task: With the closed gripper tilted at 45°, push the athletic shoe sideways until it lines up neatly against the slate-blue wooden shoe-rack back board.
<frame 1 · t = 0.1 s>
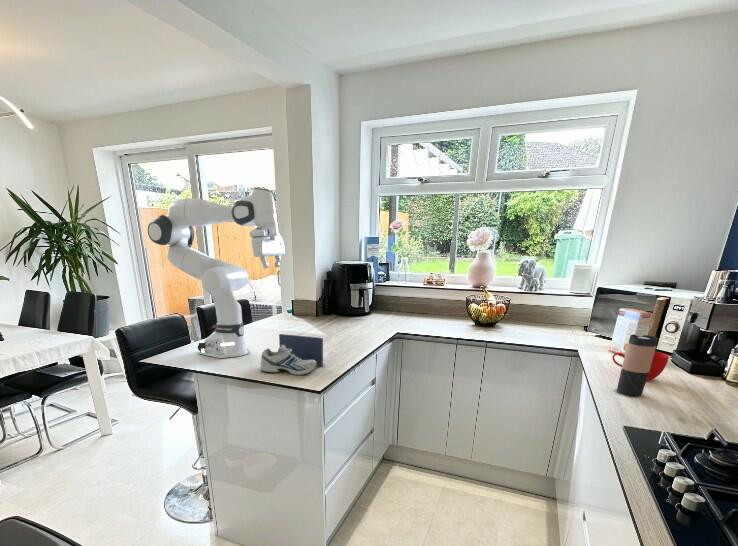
hand: (272, 267, 164), 39 cm above the worktop, tool pointing down, fingers open, 8 cm apart
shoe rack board: (301, 363, 169), on the worktop
athletic shoe: (288, 372, 159), on the worktop
ceramic cup: (634, 378, 154), on the worktop
cracker box: (624, 355, 186), on the worktop
travel mug: (628, 393, 138), on the worktop
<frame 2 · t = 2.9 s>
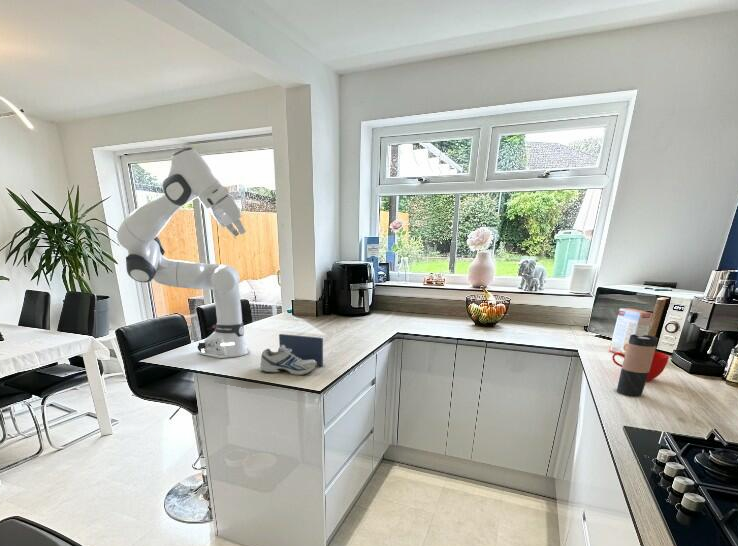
hand: (240, 234, 139), 51 cm above the worktop, tool tilted 35°, fingers open, 8 cm apart
nothing on the worktop moved.
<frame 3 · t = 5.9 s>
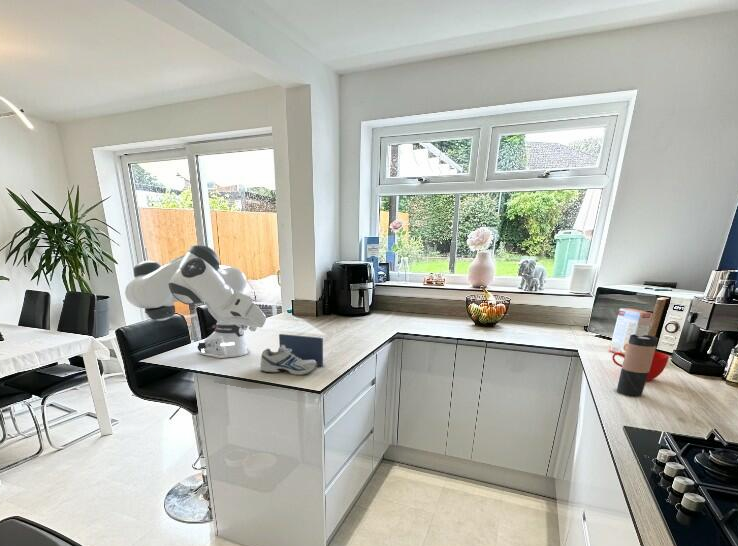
hand: (249, 328, 133), 21 cm above the worktop, tool tilted 45°, fingers open, 3 cm apart
nothing on the worktop moved.
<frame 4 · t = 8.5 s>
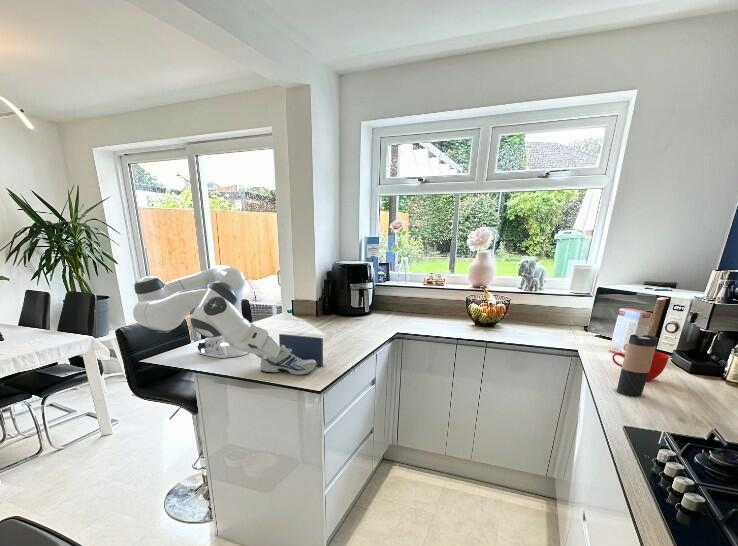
hand: (264, 356, 142), 10 cm above the worktop, tool tilted 45°, fingers closed
nothing on the worktop moved.
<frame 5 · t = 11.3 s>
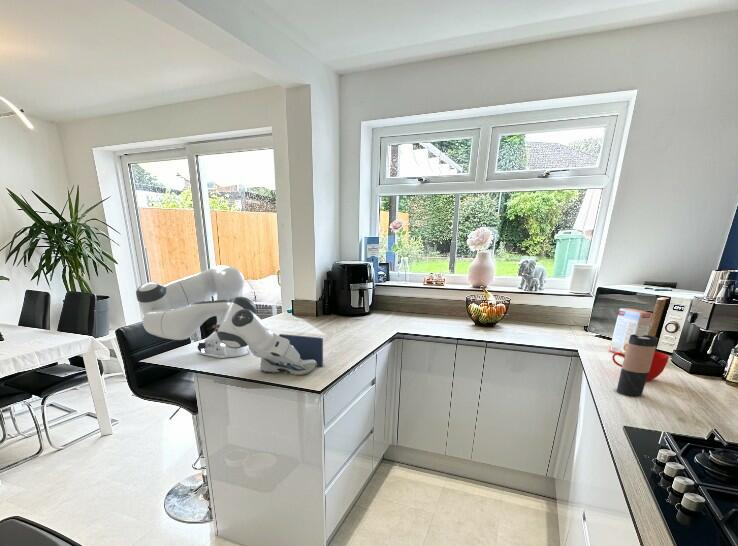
hand: (283, 363, 153), 5 cm above the worktop, tool tilted 45°, fingers closed
athletic shoe: (288, 372, 159), on the worktop, touching gripper
everything else where it was.
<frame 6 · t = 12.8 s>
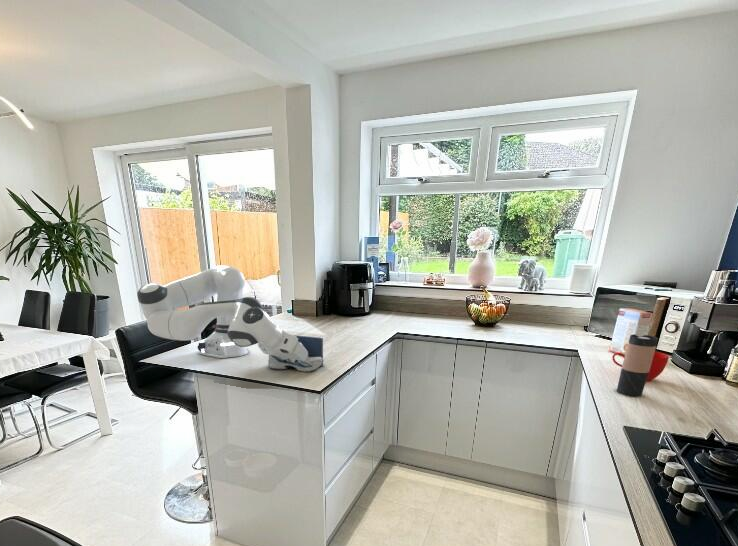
hand: (291, 360, 157), 5 cm above the worktop, tool tilted 45°, fingers closed
athletic shoe: (295, 368, 163), on the worktop, touching gripper, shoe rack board
everything else where it was.
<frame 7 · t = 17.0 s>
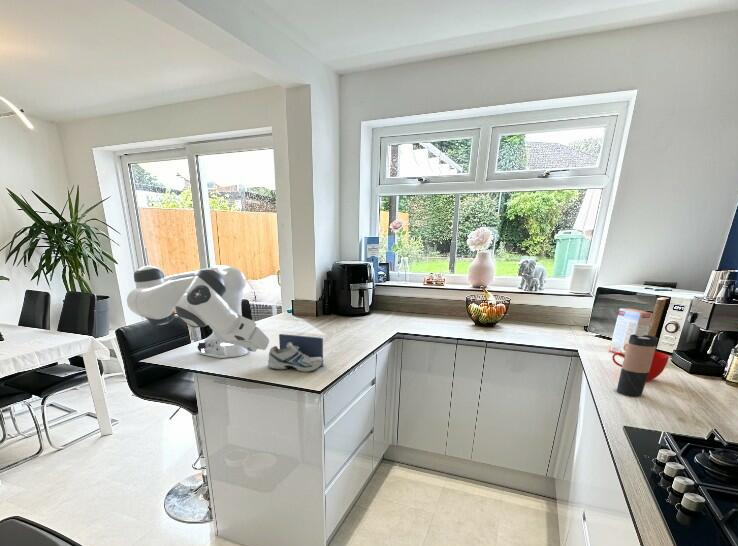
hand: (253, 349, 136), 14 cm above the worktop, tool tilted 45°, fingers closed
athletic shoe: (295, 368, 163), on the worktop
everything else where it was.
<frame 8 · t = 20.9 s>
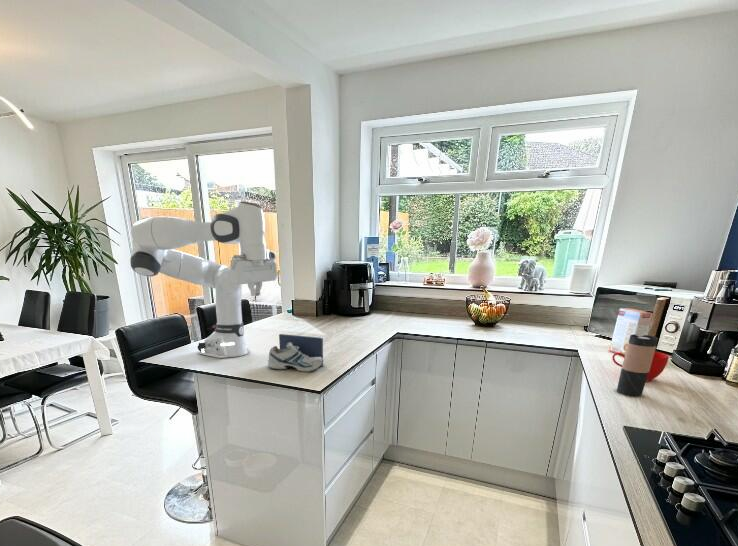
hand: (255, 295, 139), 31 cm above the worktop, tool pointing down, fingers closed
nothing on the worktop moved.
at the end: athletic shoe inside the target area (1.2 cm from its centre), on the worktop; athletic shoe tilted 0°; the gripper is holding nothing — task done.
